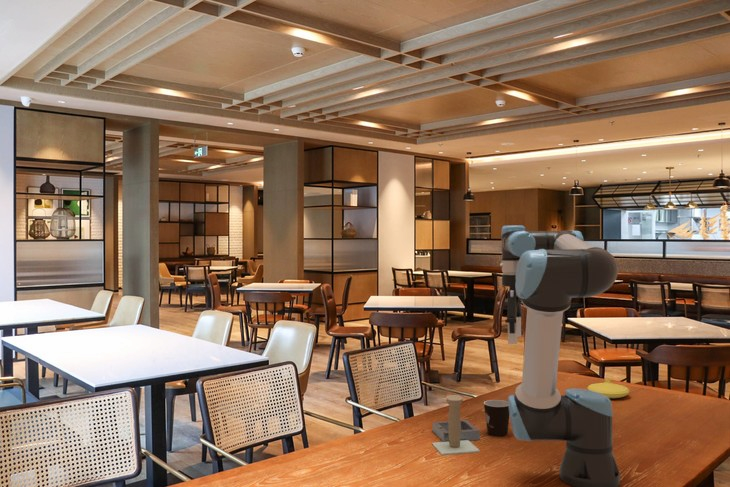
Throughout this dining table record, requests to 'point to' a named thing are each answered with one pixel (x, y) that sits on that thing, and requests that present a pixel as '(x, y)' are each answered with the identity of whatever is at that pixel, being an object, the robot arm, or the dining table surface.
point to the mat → (455, 448)
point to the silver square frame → (467, 431)
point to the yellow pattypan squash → (609, 389)
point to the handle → (454, 419)
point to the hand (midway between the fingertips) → (514, 340)
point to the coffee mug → (497, 417)
